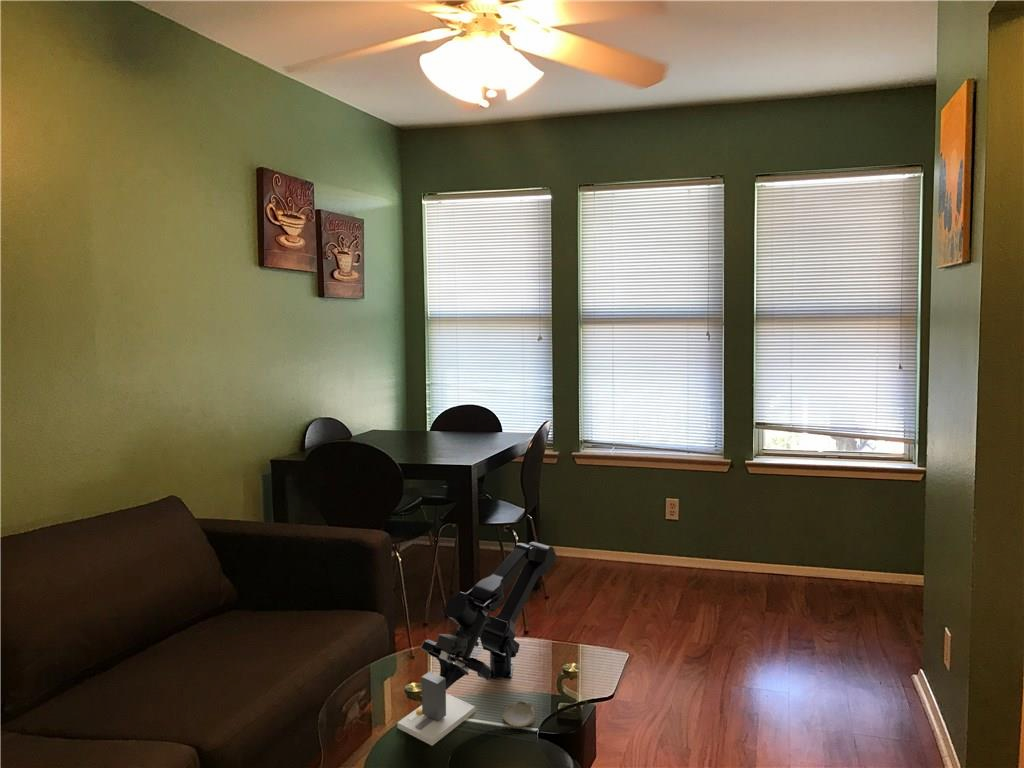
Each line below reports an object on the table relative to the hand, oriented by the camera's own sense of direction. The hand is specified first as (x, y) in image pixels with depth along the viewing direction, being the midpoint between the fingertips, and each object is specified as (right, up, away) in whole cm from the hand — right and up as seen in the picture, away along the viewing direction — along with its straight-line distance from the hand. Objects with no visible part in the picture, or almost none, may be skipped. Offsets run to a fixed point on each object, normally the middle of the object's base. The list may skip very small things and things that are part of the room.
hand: (439, 692), depth 197 cm
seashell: (+19, -7, +1) cm, 21 cm away
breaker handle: (-1, -5, -1) cm, 5 cm away
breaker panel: (-1, -7, 0) cm, 7 cm away
